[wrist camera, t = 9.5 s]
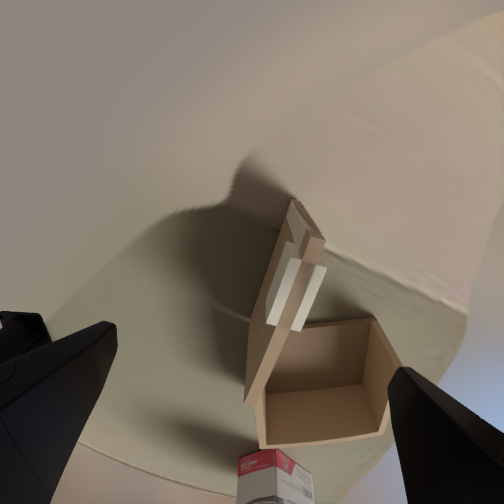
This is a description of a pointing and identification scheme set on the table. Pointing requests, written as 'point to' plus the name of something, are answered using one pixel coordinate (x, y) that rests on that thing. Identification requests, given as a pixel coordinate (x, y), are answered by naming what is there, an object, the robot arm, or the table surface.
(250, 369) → the end flap
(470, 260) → the table surface
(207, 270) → the table surface
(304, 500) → the ink box
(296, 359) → the carton
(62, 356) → the robot arm
